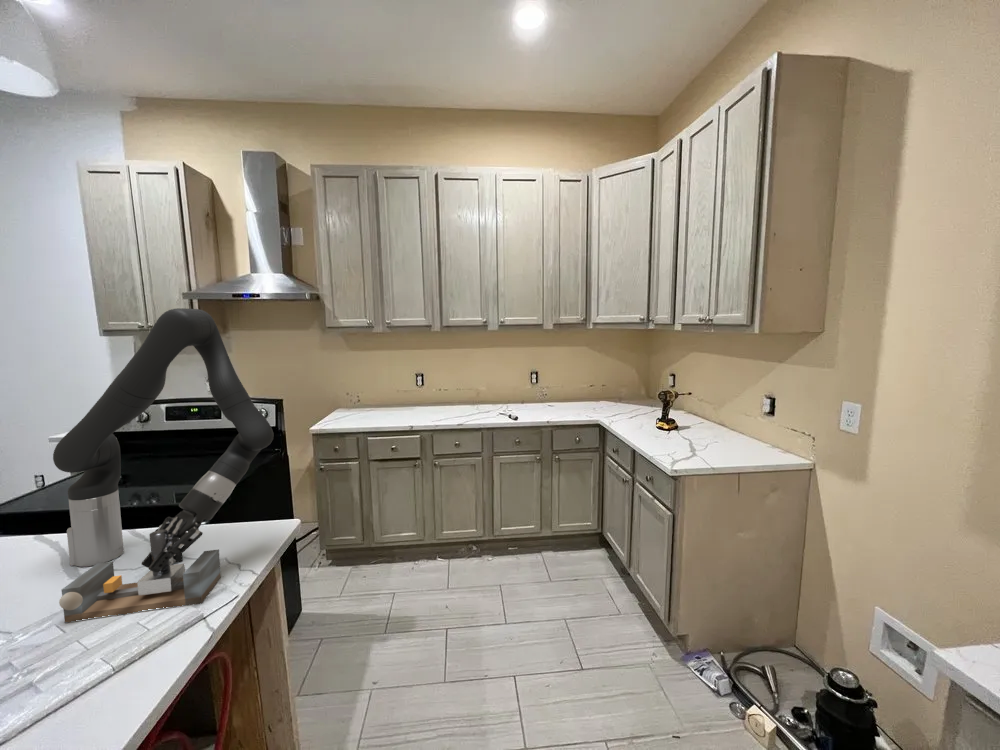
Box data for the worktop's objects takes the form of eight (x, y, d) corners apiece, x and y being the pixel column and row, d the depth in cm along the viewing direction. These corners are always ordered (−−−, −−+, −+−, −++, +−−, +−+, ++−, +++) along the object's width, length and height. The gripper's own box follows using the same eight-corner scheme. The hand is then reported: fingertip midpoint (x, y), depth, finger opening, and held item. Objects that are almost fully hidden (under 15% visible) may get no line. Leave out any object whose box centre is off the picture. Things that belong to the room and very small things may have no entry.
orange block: (104, 593, 87) (103, 584, 87) (113, 585, 90) (112, 576, 90) (113, 592, 88) (112, 582, 87) (122, 584, 91) (121, 575, 90)
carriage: (138, 595, 87) (133, 540, 86) (154, 579, 93) (150, 528, 92) (171, 591, 89) (167, 537, 88) (185, 576, 95) (181, 525, 94)
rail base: (61, 624, 83) (58, 590, 82) (98, 593, 93) (95, 563, 92) (200, 604, 88) (198, 573, 88) (221, 577, 98) (218, 549, 98)
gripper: (181, 482, 99) (119, 554, 90) (210, 492, 92) (146, 571, 83) (207, 496, 104) (151, 566, 95) (236, 507, 97) (179, 583, 88)
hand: (149, 568), depth 89 cm, fingers closed on carriage, 3 cm apart
